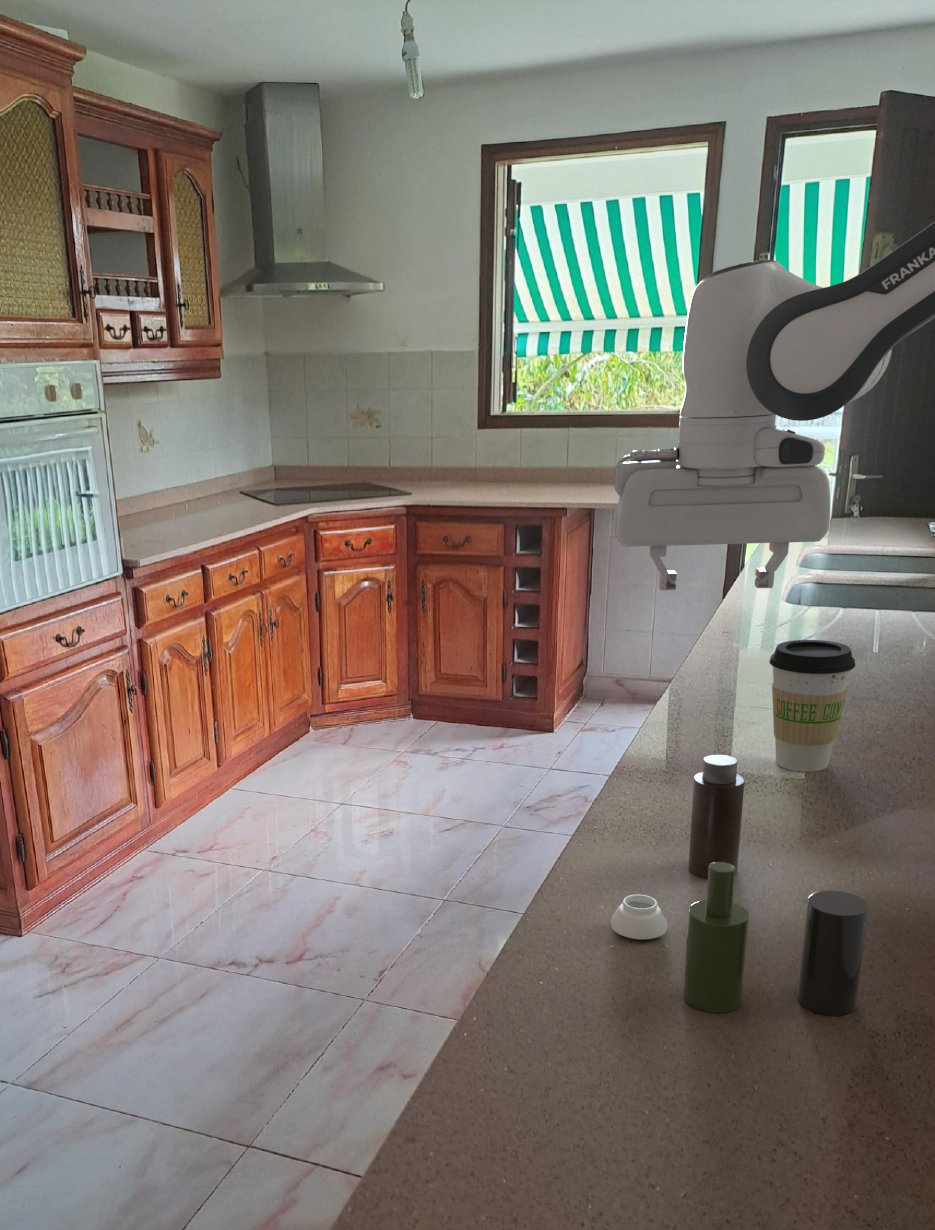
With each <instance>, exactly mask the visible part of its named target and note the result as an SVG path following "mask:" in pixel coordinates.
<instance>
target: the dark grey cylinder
mask: <svg viewBox="0 0 935 1230" xmlns="http://www.w3.org/2000/svg"><path fill="white" fill-rule="evenodd" d="M869 909H870V908H869V904H868V902H867V901H866V900H865V899H863V898H862V897H860V896H858V895H856V894H853V893H850V892H846V891H841V890H820V891H816V892H813V893H812V894H810V895H809V896H808V898H807V905H806V913H805V914H806V915H805V924H804V933H803V942H802V952H801V960H800V961H801V962H800V970H799V971H800V972H799V981H798V988H797V989H798V990H797V1000H798V1003H799V1004H800V1005H802V1007H804V1008H805V1009H806V1010H808V1011H810V1012H813V1013H816V1014H818V1015H824V1016H829V1017H831V1016H832V1017H837V1016H838V1017H840V1016H845V1015H849V1014H852V1013H853V1012H854V1011H855V1009H856V1007H857V1003H858V993H859V985H860V978H861V969H862V963H863V962H862V961H863V955H864V947H865V939H866V933H867V932H866V931H867V923H868V915H869Z"/></svg>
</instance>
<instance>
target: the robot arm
mask: <svg viewBox="0 0 935 1230" xmlns="http://www.w3.org/2000/svg"><path fill="white" fill-rule="evenodd" d="M686 317H687V318H686V326H685V332H684V339H683V340H684V341H683V353H682V374H683V378H684V388H685V389H684V398H683V401H682V404H681V407H680V411H679V421H678V423H679V424H678V440H677V447H676V448H661V449H659V448H658V449H653V450H646V449H636V450H632V451H631V452H630V454H627V455H624V456H623V457H622V458H621V459H619V461H618V462H617V463H616V465H615V469H614V483H613V484H614V485H613V486H614V489H615V492H616V494H617V495H618V497H619V498H618V504H617V510H616V515H615V516H616V517H615V526H614V535H615V539H616V540H617V541H618V542H619V543H620V544H621V545H622V546H623V547H627V548H629V547H630V548H632V547H633V548H634V547H649V556H650V557H651V559H652V561H653V563H654V565H655V567H656V569H657V571H658V572H659V577H658V578H659V581H658V582H659V583H658V586H659V590H660V591H675V590H676V589H677V583H676V581H677V576H678V573H677V572H676V570H675V569H672V570H671V569H670V570H669V569H667V568H666V565H665V564H664V562H663V560H662V558H665V557H666V556H667V548H668V547H669V546H670V547H672V546H673V547H675V546H704V545H705V546H707V545H711V546H712V545H743V544H745V545H746V544H747V545H748V544H769V546H768V550H769V551H770V552H771V553H772V555H770V558H769V559H768V561H767V563H766V564H765V566H764V567H759V568H758V567H757V568H755V573H754V574H755V576H756V577H755V579H754V587H755V588H756V589H773V587H774V582H775V572H776V571H777V570H778V569H779V567H780V566H781V565H782V563H783V562H784V560H785V559H786V557H787V556H788V555H789V548H790V547H789V546H790V543H816V542H817V543H818V542H820V541H821V540H823V538H824V537H825V536H826V535H827V534H828V532H829V530H830V524H831V488H830V482H829V478H828V476H827V473H826V472H825V470H823V469H822V468H821V467H819V466H818V465H820V464H821V463H822V462H823V460H824V458H825V453H826V447H825V444H824V443H822V442H821V441H820V440H817V439H815V438H813V437H809V436H807V435H803V434H799V433H796V431H793V430H792V429H786V428H781V429H780V428H777V425H776V420H777V419H776V417H777V416H778V417H780V418H782V419H786V420H789V421H796V422H797V421H798V422H807V421H814V420H819V419H822V418H825V417H827V416H829V415H832V414H833V413H836V412H837V411H839V410H840V409H842V408H843V407H844V406H846V405H848V404H850V403H853V402H855V401H856V400H858V399H859V398H861V397H863V396H864V395H865V394H867V393H868V392H869V391H870V390H872V389H873V388H874V387H875V386H876V385H877V384H878V383H879V382H880V380H881V379H882V378H883V376H884V375H885V373H886V371H887V369H888V368H889V365H890V363H891V360H892V356H893V349H894V347H896V346H897V345H898V344H899V343H900V342H902V341H903V340H904V339H905V338H907V337H908V336H909V335H911V334H912V333H914V332H916V331H917V330H918V329H920V328H922V327H923V326H924V325H926V324H927V323H929V322H931V321H933V320H934V318H935V221H933V222H931V223H930V224H928V226H926V227H925V228H923V229H922V230H920V231H918V233H916V234H915V235H914V236H912V237H910V238H909V239H908V240H906V241H904V242H903V243H902V244H901V245H900V246H897V247H896V248H895V249H894V250H892V251H890V252H889V253H888V254H886V255H885V256H884V257H882V258H881V259H879V260H878V261H877V262H875V263H873V264H872V265H871V266H869V267H868V268H866V269H865V270H863V271H862V272H860V273H858V274H856V275H855V276H853V277H852V278H851V277H850V278H848V279H847V280H845V281H842V282H839V283H836V284H833V285H830V286H826V287H822V286H820V285H817V284H815V283H813V282H810V281H808V280H806V279H804V278H802V277H800V276H798V275H796V274H795V273H793V272H791V271H789V270H788V269H786V268H785V267H784V266H783V265H782V264H781V263H780V262H779V261H777V260H771V259H758V260H754V261H746V262H741V263H737V264H733V265H730V266H726V267H723V268H721V269H720V268H719V269H718V270H716V271H713V272H711V273H709V274H707V275H706V276H705V277H703V278H702V279H701V281H699V283H697V285H696V286H695V288H694V290H693V292H692V295H691V297H690V302H689V306H688V311H687V316H686ZM628 460H630V461H628Z"/></svg>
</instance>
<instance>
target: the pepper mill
mask: <svg viewBox="0 0 935 1230" xmlns="http://www.w3.org/2000/svg"><path fill="white" fill-rule="evenodd" d="M692 788H693V789H692V801H691V820H690V835H689V849H688V850H689V851H688V867H687V869H688V871H689V872H690V874H693V875H694V876H697V877H699V878H703V879H707V880H708V870H709V865H710V864H711V863H714V862H726V863H729V864H732V865H733V866H734V867H735V876H736V875H737V874H738V869H739V868H738V867H739V854H740V844H741V843H740V842H741V833H742V832H741V831H742V830H741V829H742V818H743V808H744V807H743V805H744V795H745V778H744V777H743V776H742V775H740V774H738V759H737V758H736V757H733V756H731V755H726V754H711V755H707V756H705V757H704V758H703V762H702V771H701V772H698V773H696V774H695V775H694V776H693V787H692Z"/></svg>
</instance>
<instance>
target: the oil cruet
mask: <svg viewBox="0 0 935 1230" xmlns="http://www.w3.org/2000/svg"><path fill="white" fill-rule="evenodd" d="M735 878H736V875H735V867H734V866H733V865H732V864H729V863H726V862H714V863H711V864H710V865H709V870H708V879H707V884H706V885H707V886H706V889H707V890H706V898H705V899H702V900H699V901H695V902H693V903H692V904H691V905H690V906H689V908H688V915H687V929H686V930H687V931H686V947H685V963H684V979H683V991H682V993H683V994H682V995H683V996H682V997H683V999H684V1001H685V1002H686V1003H687V1004H688V1005H689V1006H691V1007H693V1008H694V1009H697V1010H700V1011H702V1012H706V1013H712V1014H722V1013H723V1014H724V1013H730V1012H733V1011H735V1010H737V1009H738V1008H740V1007H741V1005H742V1000H743V989H744V979H745V978H744V976H745V968H746V967H745V966H746V954H747V942H748V931H749V920H750V914H749V911H748V910H747V909H746V908H745V907H744V906H742V905H740V904H738V903H737V902H733V901H734V893H735V892H734V889H735Z"/></svg>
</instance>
